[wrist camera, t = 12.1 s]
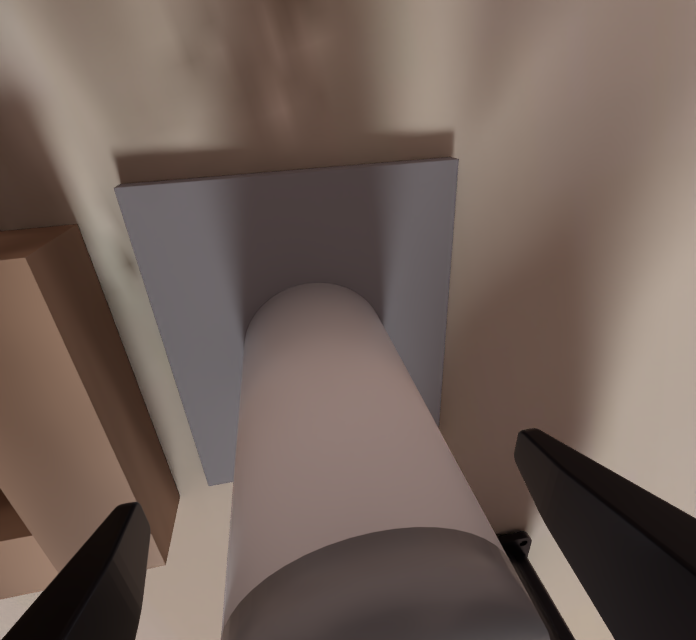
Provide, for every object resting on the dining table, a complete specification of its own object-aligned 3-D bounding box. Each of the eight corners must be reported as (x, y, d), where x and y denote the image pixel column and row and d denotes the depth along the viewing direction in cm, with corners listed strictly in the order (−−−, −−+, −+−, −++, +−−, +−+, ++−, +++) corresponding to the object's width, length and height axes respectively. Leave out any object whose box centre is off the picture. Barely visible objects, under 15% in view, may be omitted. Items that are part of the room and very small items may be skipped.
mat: (450, 156, 13) (458, 159, 12) (432, 434, 19) (437, 444, 18) (120, 184, 12) (113, 188, 11) (210, 474, 17) (208, 486, 17)
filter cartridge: (382, 274, 14) (584, 565, 5) (383, 391, 16) (522, 723, 7) (232, 292, 13) (170, 662, 4) (256, 411, 15) (248, 802, 7)
